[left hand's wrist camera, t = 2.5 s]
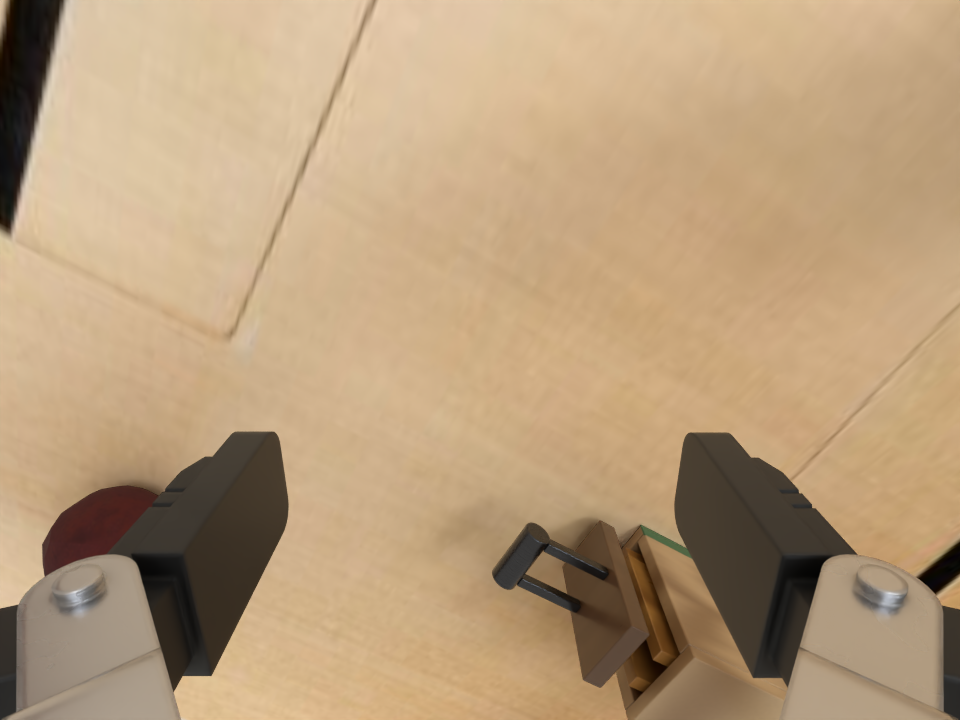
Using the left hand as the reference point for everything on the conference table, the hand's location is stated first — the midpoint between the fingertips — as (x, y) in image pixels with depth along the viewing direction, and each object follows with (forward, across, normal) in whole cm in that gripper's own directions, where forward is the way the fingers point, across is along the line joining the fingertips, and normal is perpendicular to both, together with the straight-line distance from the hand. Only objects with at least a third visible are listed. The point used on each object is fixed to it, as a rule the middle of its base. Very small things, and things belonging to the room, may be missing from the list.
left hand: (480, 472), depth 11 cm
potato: (+22, +22, +17) cm, 36 cm away
